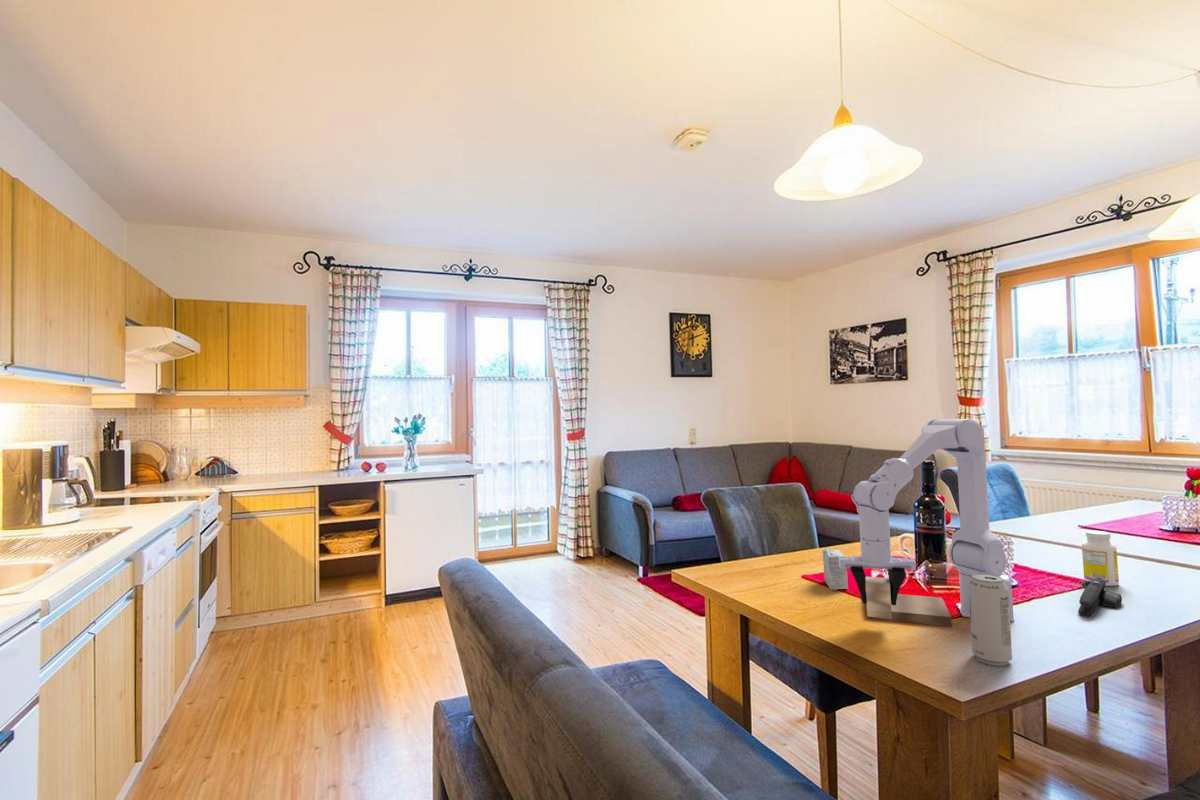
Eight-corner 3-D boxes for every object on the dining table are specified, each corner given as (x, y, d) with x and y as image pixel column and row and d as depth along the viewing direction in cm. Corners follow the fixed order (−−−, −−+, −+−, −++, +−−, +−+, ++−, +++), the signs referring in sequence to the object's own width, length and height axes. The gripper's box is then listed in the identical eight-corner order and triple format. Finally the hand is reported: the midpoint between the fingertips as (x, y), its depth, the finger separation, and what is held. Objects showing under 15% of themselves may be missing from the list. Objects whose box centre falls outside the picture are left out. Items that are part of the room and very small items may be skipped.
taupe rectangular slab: (942, 606, 130) (941, 597, 130) (951, 626, 118) (951, 617, 118) (866, 599, 136) (865, 591, 136) (868, 618, 124) (867, 609, 124)
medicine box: (848, 590, 143) (846, 556, 144) (829, 590, 144) (828, 556, 144) (841, 581, 151) (839, 549, 151) (823, 581, 152) (822, 549, 152)
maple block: (890, 611, 119) (888, 578, 119) (891, 618, 115) (890, 584, 115) (866, 609, 121) (865, 576, 121) (867, 616, 116) (865, 582, 117)
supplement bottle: (1105, 579, 145) (1101, 529, 145) (1126, 586, 138) (1123, 534, 138) (1077, 579, 145) (1074, 529, 146) (1097, 587, 139) (1094, 535, 139)
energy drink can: (975, 650, 106) (971, 570, 107) (1015, 658, 102) (1010, 576, 102) (969, 660, 102) (964, 578, 102) (1009, 670, 98) (1004, 584, 98)
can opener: (1086, 596, 133) (1085, 572, 133) (1125, 603, 128) (1124, 579, 128) (1062, 614, 123) (1060, 588, 123) (1103, 623, 117) (1102, 596, 117)
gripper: (907, 534, 120) (911, 598, 120) (835, 533, 124) (838, 595, 123) (917, 542, 113) (920, 609, 113) (840, 541, 117) (843, 606, 117)
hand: (878, 603), depth 118 cm, fingers closed on maple block, 5 cm apart
